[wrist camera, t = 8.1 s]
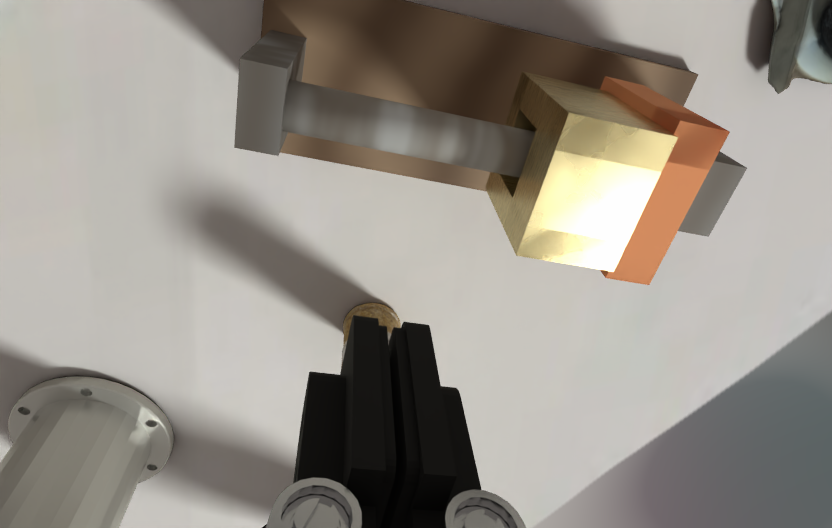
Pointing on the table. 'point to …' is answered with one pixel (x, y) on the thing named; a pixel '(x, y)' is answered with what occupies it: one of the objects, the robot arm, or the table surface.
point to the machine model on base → (424, 92)
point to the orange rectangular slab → (665, 178)
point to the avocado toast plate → (801, 42)
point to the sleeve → (578, 173)
